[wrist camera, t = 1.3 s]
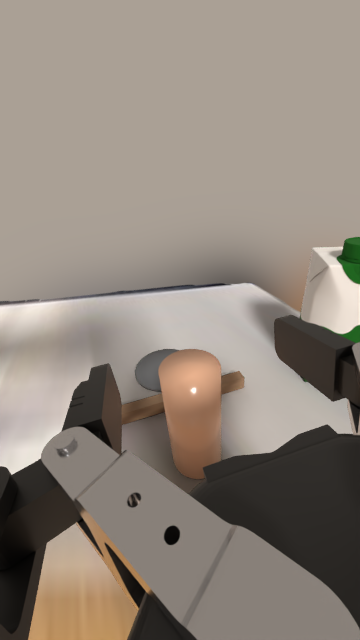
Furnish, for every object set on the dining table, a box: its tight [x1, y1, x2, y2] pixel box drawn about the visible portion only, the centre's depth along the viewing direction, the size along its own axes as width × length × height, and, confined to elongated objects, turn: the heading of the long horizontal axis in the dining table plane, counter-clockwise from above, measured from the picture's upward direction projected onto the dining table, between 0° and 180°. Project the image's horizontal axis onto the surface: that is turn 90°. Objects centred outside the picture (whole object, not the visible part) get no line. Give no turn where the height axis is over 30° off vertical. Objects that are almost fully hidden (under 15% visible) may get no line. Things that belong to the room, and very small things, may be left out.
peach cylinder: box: [158, 349, 221, 479], centre depth 25 cm, size 6×6×13 cm
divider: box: [122, 371, 244, 425], centre depth 35 cm, size 20×2×2 cm, turn 107°
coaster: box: [135, 349, 180, 391], centre depth 42 cm, size 10×10×1 cm
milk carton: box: [300, 237, 360, 382], centre depth 34 cm, size 9×9×20 cm
